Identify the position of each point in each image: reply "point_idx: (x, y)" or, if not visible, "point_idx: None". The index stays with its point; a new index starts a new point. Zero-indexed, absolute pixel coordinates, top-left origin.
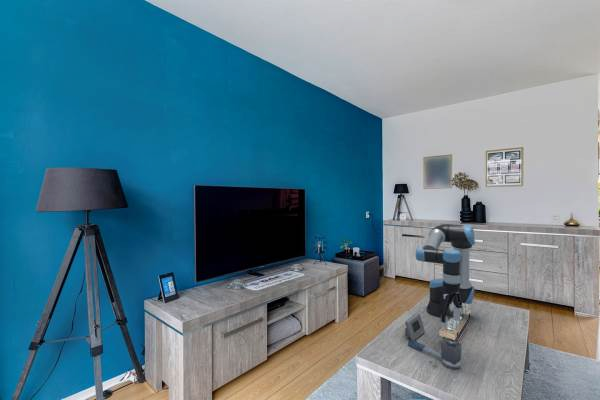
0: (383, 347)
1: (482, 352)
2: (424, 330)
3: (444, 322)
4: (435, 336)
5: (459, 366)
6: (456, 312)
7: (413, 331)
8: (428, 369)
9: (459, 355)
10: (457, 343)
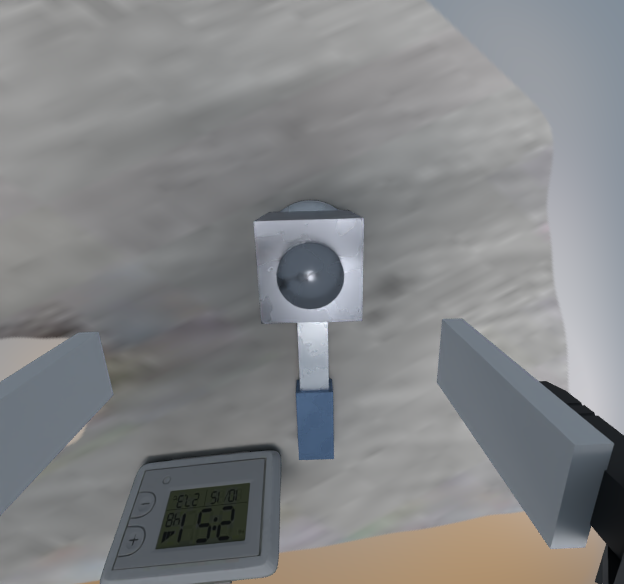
0: (435, 489)
1: (37, 190)
2: (145, 469)
3: (549, 385)
4: (129, 413)
5: (311, 200)
6: (18, 439)
7: (254, 492)
8: (443, 290)
9: (289, 214)
10: (274, 242)
